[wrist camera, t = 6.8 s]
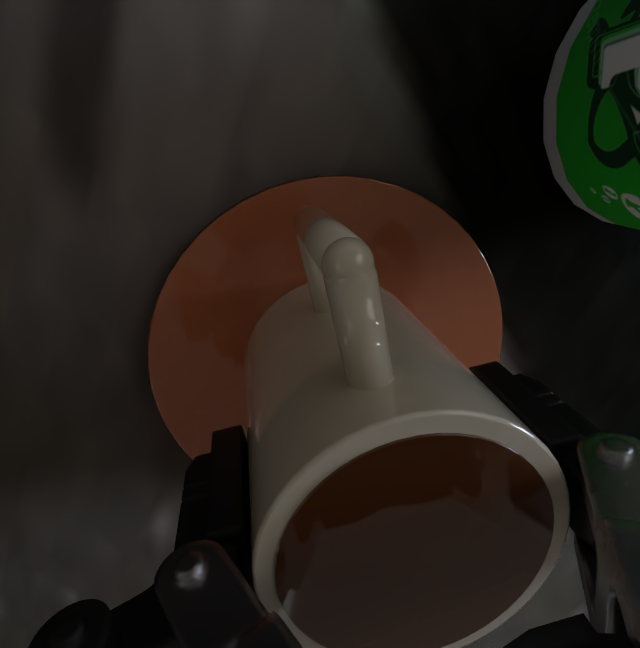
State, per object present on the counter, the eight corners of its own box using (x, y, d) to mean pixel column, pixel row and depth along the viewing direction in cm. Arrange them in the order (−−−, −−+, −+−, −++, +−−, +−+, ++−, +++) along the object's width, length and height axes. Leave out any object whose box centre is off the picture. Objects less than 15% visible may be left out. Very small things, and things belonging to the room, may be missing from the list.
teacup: (504, 446, 19) (692, 664, 11) (213, 531, 18) (195, 830, 10) (481, 134, 15) (772, 129, 7) (90, 228, 14) (-109, 352, 6)
